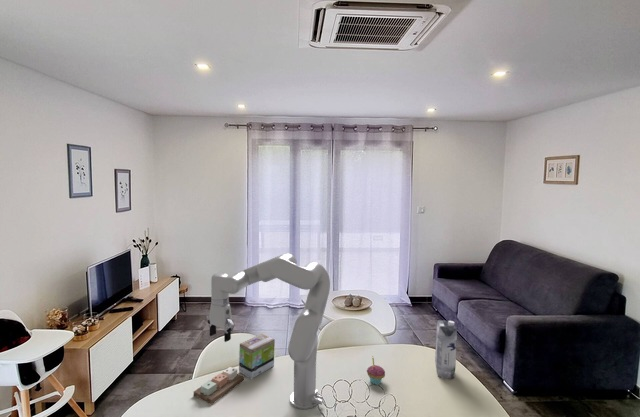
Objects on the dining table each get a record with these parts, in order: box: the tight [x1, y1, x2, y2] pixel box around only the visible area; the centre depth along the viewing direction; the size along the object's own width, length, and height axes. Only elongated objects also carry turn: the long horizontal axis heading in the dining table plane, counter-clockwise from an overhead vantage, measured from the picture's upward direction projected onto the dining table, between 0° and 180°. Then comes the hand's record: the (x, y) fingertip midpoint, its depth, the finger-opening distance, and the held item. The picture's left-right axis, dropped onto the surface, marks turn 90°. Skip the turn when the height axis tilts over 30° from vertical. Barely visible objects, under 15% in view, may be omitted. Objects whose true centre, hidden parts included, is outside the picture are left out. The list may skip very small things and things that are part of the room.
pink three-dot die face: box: [211, 373, 228, 388], centre depth 151 cm, size 5×5×3 cm
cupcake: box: [366, 355, 386, 385], centre depth 158 cm, size 9×8×12 cm
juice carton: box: [434, 319, 458, 380], centre depth 165 cm, size 9×10×27 cm
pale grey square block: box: [200, 380, 218, 396], centre depth 145 cm, size 5×5×3 cm
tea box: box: [238, 333, 276, 380], centre depth 166 cm, size 15×10×15 cm
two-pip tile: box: [222, 366, 238, 381], centre depth 157 cm, size 5×5×3 cm
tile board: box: [193, 372, 245, 405], centre depth 151 cm, size 11×20×2 cm, turn 151°
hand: (220, 337), depth 151 cm, fingers open, 9 cm apart
